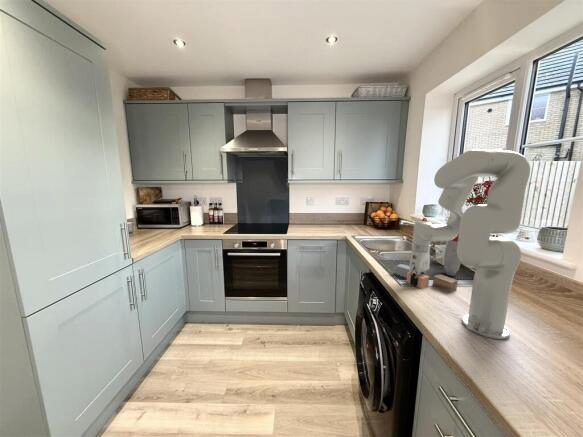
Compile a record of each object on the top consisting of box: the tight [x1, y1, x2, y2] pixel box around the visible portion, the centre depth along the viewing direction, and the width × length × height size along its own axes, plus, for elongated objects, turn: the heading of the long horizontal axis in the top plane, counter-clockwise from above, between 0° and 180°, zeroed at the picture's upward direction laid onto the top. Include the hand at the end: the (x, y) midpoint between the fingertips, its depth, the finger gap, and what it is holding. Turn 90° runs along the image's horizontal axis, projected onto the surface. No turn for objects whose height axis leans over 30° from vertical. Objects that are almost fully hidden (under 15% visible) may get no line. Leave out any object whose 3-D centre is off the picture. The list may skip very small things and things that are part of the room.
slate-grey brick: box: [395, 263, 416, 279], centre depth 123 cm, size 5×8×5 cm, turn 37°
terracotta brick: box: [405, 272, 430, 290], centre depth 113 cm, size 5×8×5 cm, turn 27°
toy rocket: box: [443, 234, 462, 277], centre depth 124 cm, size 8×8×25 cm
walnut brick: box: [432, 274, 459, 293], centre depth 110 cm, size 5×8×5 cm, turn 29°
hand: (417, 283), depth 114 cm, fingers closed on terracotta brick, 5 cm apart
